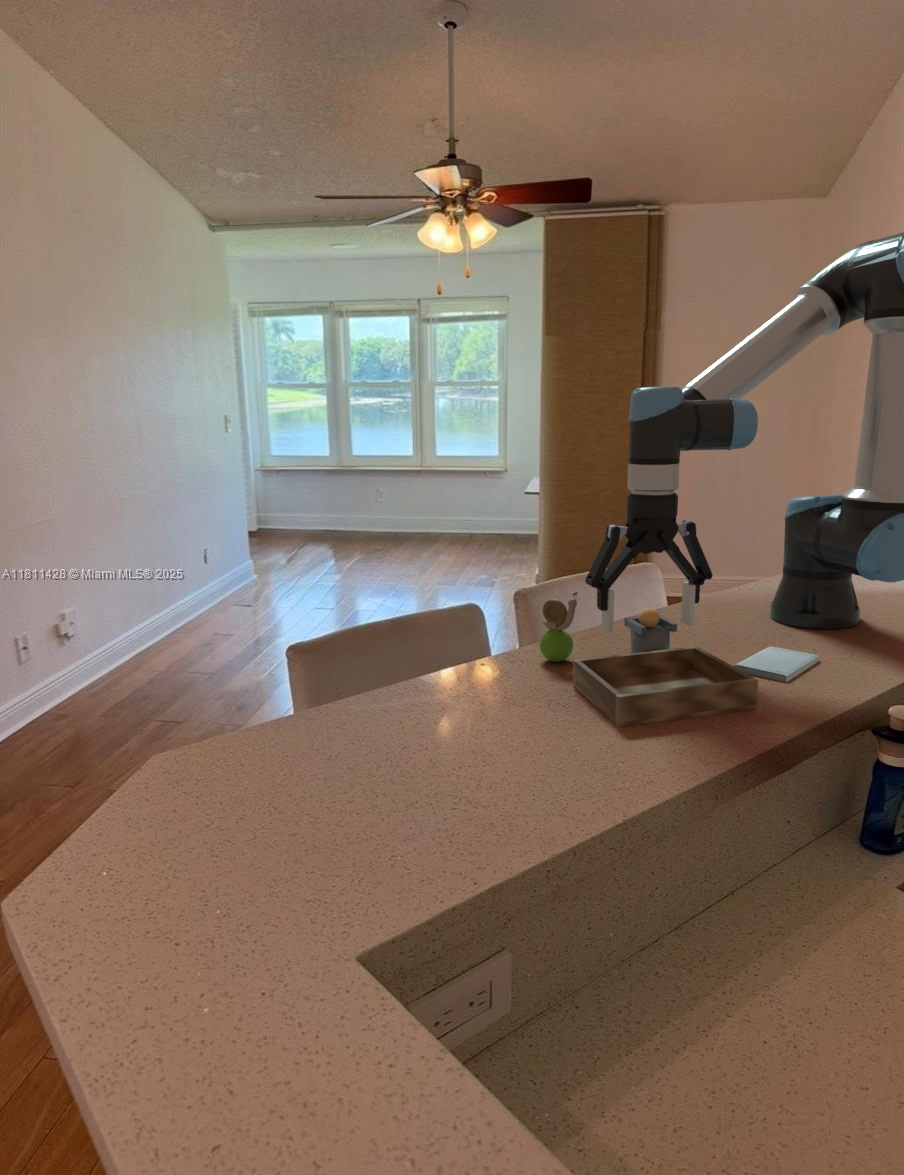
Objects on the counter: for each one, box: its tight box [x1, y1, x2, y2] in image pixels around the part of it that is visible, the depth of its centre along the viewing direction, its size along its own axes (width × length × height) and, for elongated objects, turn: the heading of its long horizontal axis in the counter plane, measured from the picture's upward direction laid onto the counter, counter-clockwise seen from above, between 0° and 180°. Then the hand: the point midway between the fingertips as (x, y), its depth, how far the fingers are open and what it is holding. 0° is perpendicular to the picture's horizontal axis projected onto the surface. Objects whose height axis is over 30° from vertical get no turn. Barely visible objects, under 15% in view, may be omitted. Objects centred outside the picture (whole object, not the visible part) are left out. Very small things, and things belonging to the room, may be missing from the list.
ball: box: [638, 607, 660, 628], centre depth 125 cm, size 3×3×3 cm
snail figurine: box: [539, 591, 578, 663], centre depth 128 cm, size 5×6×12 cm
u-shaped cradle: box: [624, 614, 678, 654], centre depth 125 cm, size 6×6×7 cm
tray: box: [572, 645, 759, 728], centre depth 112 cm, size 20×16×4 cm
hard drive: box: [733, 646, 820, 683], centre depth 123 cm, size 2×8×12 cm
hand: (647, 627), depth 125 cm, fingers open, 13 cm apart
